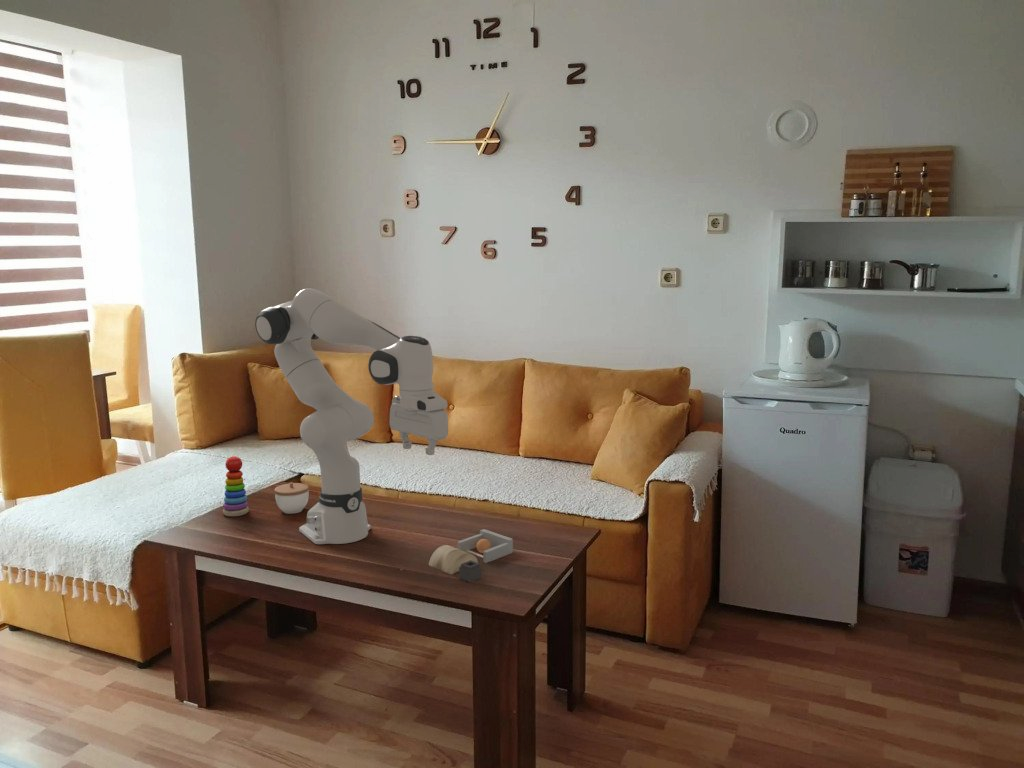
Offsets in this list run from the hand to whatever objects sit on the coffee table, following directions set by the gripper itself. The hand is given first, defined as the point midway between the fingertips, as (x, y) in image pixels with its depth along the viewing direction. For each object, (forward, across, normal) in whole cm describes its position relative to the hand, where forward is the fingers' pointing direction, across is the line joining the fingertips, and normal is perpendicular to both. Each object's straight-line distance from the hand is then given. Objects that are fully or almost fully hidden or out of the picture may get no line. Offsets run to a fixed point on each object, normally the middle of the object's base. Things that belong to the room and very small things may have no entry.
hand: (418, 451), depth 206 cm
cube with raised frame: (+31, +16, +3) cm, 35 cm away
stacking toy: (+31, -77, -14) cm, 84 cm away
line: (+31, +6, +15) cm, 35 cm away
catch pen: (+31, +6, +18) cm, 36 cm away
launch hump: (+37, +6, +6) cm, 38 cm away
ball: (+29, +6, +17) cm, 34 cm away
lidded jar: (+31, -66, 0) cm, 73 cm away
